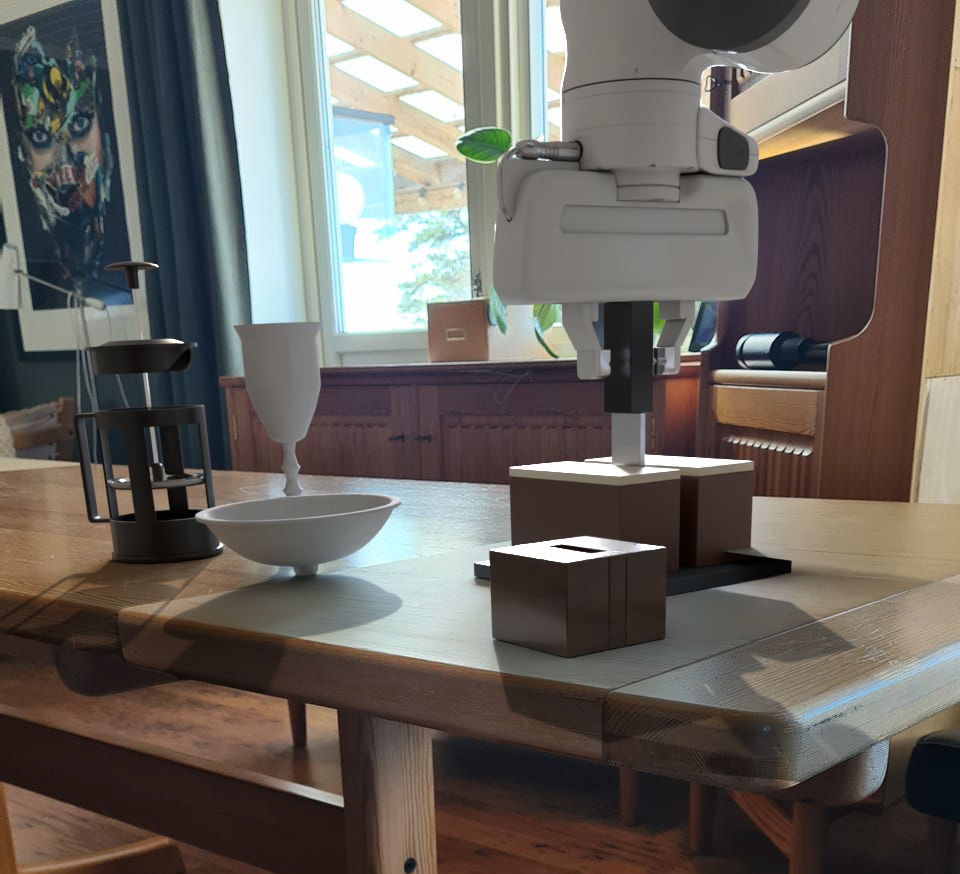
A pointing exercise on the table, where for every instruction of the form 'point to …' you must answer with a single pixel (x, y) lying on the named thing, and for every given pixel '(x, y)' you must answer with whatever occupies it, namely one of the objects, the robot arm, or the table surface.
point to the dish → (300, 527)
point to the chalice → (283, 383)
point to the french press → (147, 529)
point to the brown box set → (647, 513)
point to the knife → (629, 377)
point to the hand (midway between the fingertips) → (629, 376)
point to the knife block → (578, 594)
